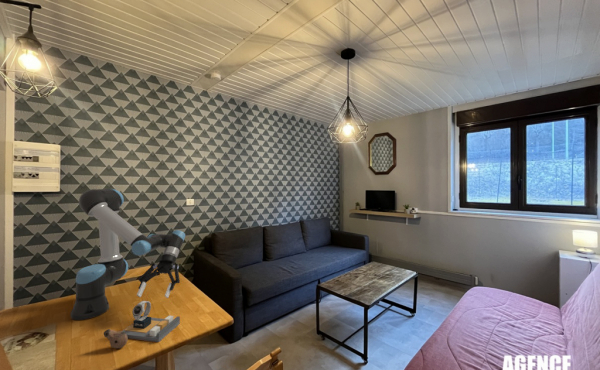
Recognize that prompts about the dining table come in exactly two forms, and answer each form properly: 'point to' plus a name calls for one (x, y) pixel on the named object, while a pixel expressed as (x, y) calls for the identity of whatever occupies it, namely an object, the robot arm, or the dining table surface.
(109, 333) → the oil lamp
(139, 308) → the watch
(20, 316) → the dining table surface
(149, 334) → the board
